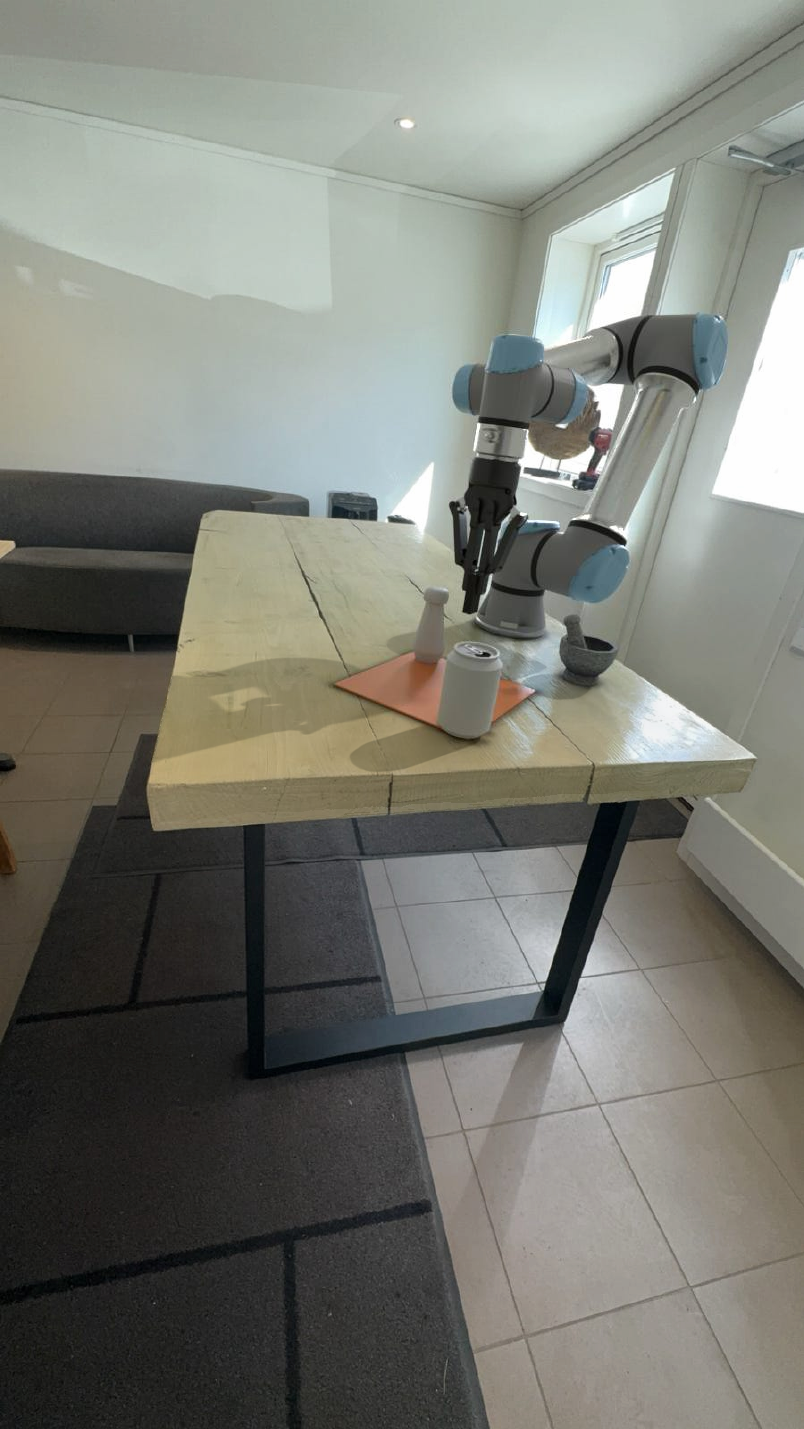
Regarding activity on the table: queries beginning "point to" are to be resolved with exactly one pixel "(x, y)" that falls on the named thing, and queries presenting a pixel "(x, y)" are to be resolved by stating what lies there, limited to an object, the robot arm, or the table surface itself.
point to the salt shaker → (431, 627)
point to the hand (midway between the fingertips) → (469, 612)
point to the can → (469, 689)
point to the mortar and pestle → (584, 654)
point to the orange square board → (420, 688)
